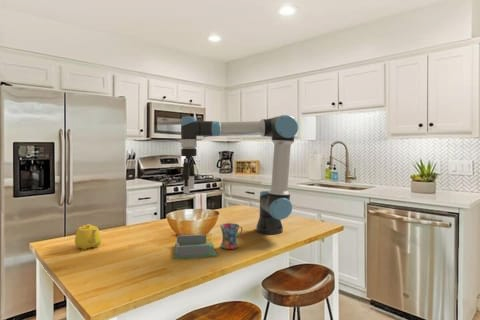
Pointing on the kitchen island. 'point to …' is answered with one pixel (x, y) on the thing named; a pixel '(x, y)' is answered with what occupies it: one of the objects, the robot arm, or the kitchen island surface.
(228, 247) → the mug
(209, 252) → the grey stepped block
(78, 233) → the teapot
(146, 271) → the kitchen island surface
